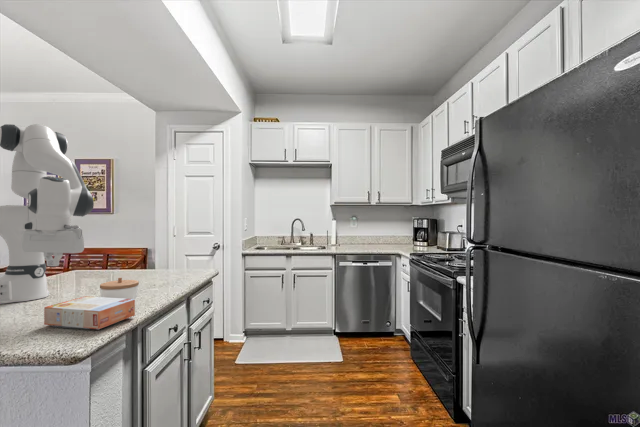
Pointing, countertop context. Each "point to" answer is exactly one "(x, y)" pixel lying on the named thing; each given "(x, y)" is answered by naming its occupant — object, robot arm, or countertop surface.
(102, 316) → the cracker box
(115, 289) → the lidded bowl
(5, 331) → the countertop surface
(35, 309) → the countertop surface
